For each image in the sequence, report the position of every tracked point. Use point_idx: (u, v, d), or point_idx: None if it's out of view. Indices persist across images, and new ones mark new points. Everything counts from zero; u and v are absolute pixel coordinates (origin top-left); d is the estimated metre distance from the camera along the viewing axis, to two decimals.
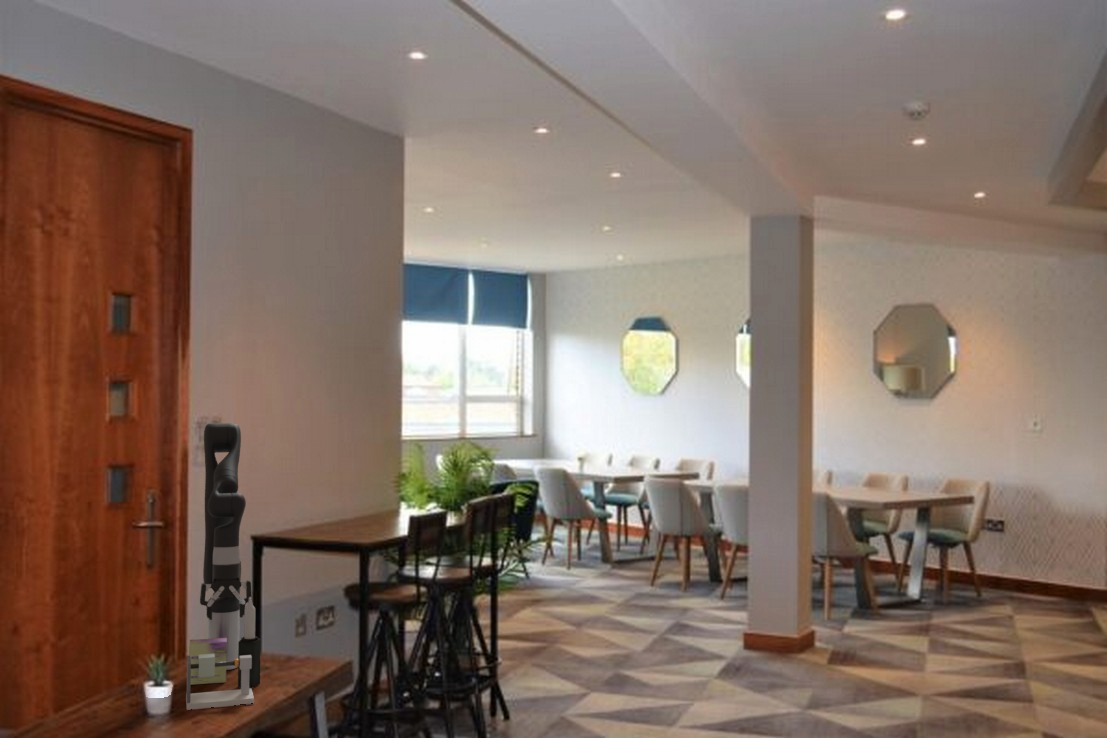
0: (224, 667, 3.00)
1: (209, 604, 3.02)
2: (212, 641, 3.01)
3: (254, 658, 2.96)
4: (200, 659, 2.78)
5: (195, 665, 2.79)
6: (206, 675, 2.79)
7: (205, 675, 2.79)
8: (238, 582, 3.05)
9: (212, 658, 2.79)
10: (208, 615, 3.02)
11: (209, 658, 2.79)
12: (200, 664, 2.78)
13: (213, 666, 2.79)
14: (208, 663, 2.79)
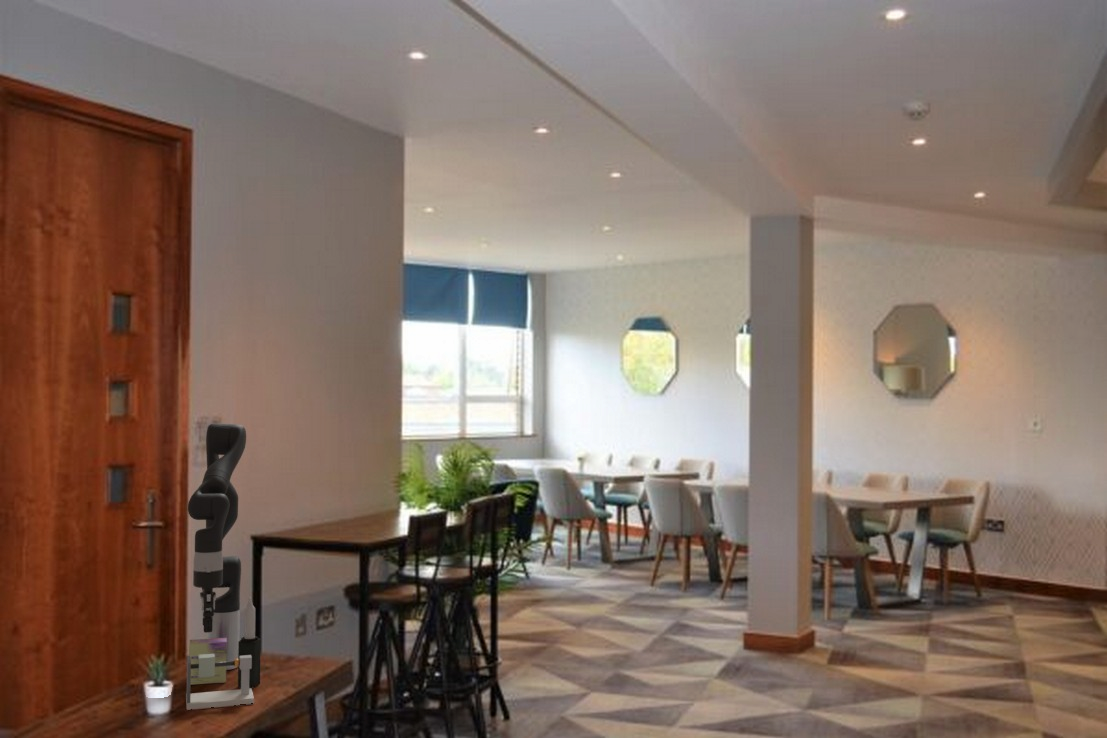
0: (224, 667, 3.00)
1: (213, 615, 2.77)
2: (212, 641, 3.01)
3: (254, 658, 2.96)
4: (200, 659, 2.78)
5: (195, 665, 2.79)
6: (206, 675, 2.79)
7: (205, 675, 2.79)
8: None
9: (212, 658, 2.79)
10: (211, 627, 2.77)
11: (209, 658, 2.79)
12: (200, 664, 2.78)
13: (213, 666, 2.79)
14: (208, 663, 2.79)
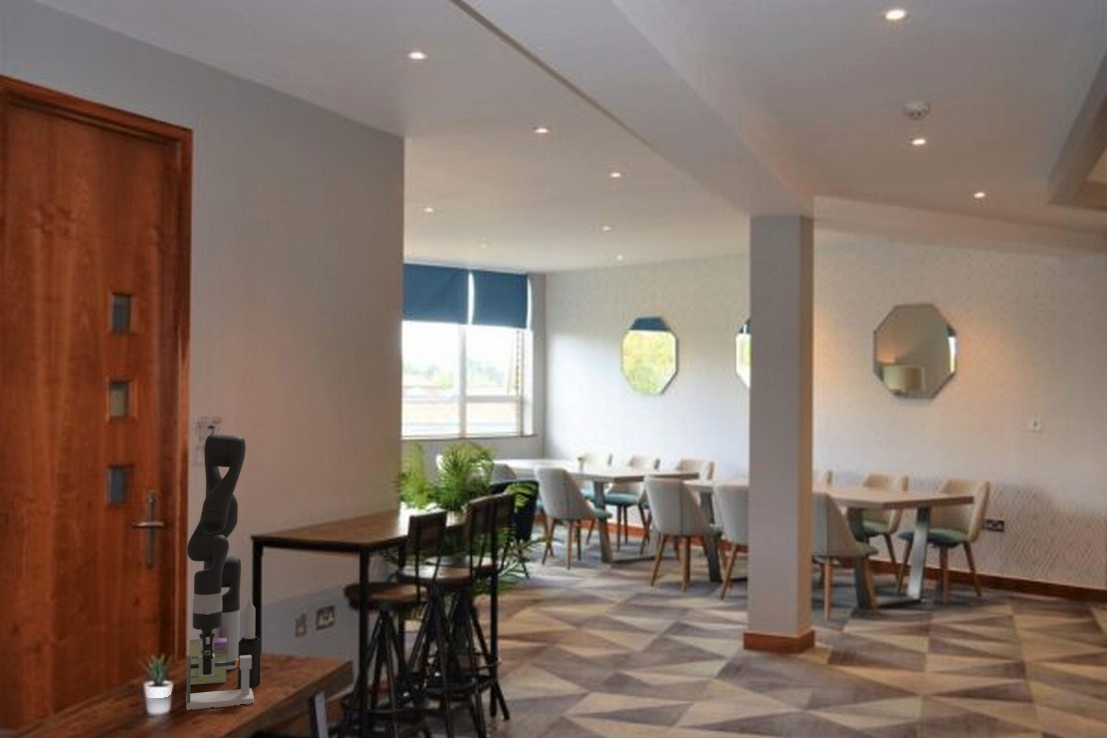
0: (224, 667, 3.00)
1: None
2: None
3: (254, 658, 2.96)
4: (200, 659, 2.78)
5: (195, 665, 2.79)
6: (206, 675, 2.79)
7: (205, 675, 2.79)
8: None
9: None
10: (210, 669, 2.77)
11: None
12: (200, 664, 2.78)
13: (213, 666, 2.79)
14: None
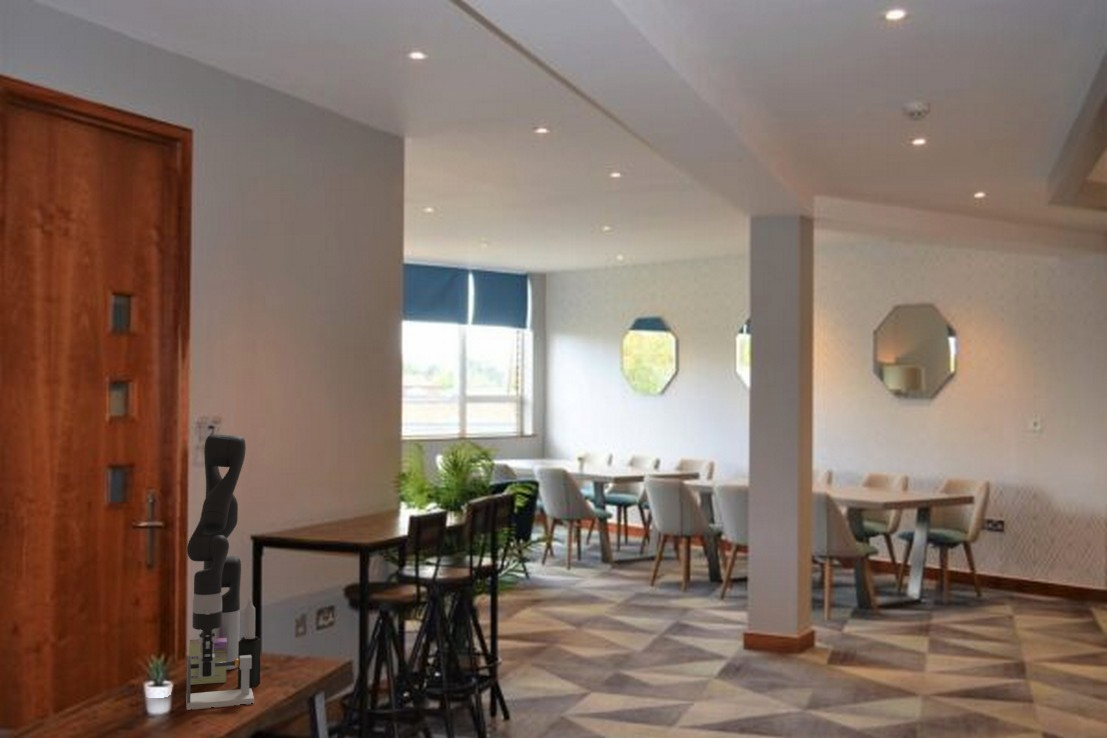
0: (224, 667, 3.00)
1: None
2: None
3: (254, 658, 2.96)
4: (200, 659, 2.78)
5: (195, 665, 2.79)
6: None
7: None
8: None
9: None
10: (209, 671, 2.78)
11: None
12: (200, 664, 2.78)
13: (213, 666, 2.79)
14: None
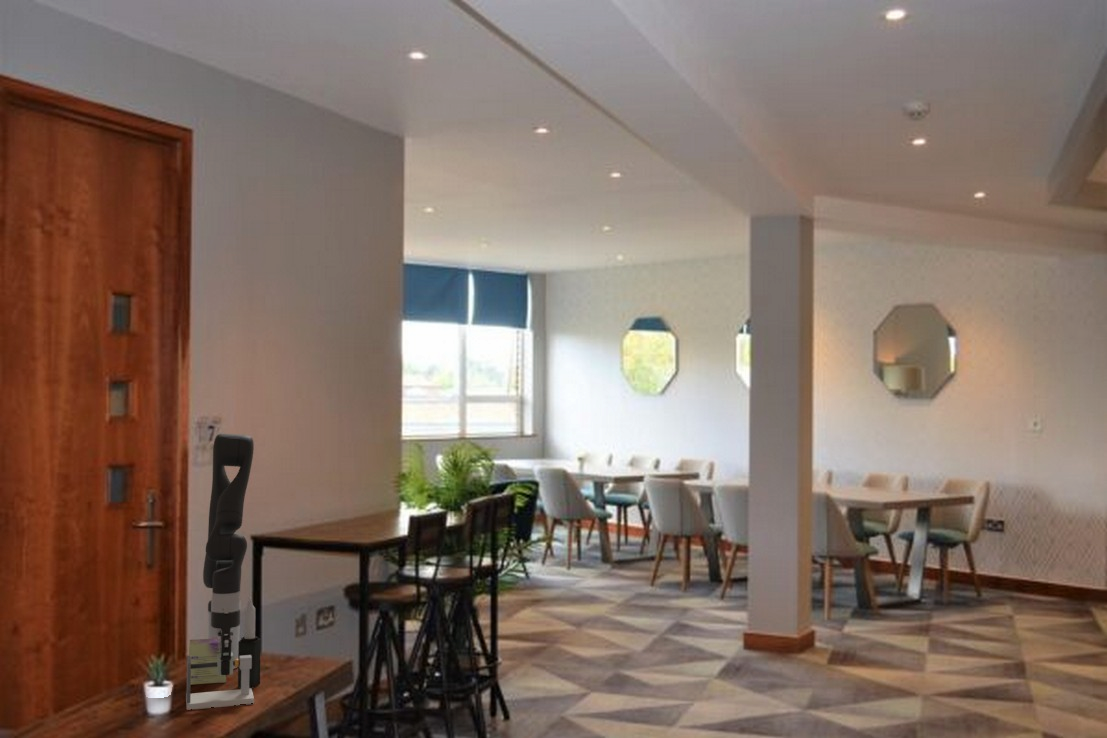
0: None
1: None
2: (212, 641, 3.01)
3: (254, 658, 2.96)
4: (219, 658, 2.80)
5: (195, 665, 2.79)
6: None
7: None
8: None
9: None
10: (228, 670, 2.80)
11: None
12: (218, 662, 2.80)
13: (231, 665, 2.81)
14: None
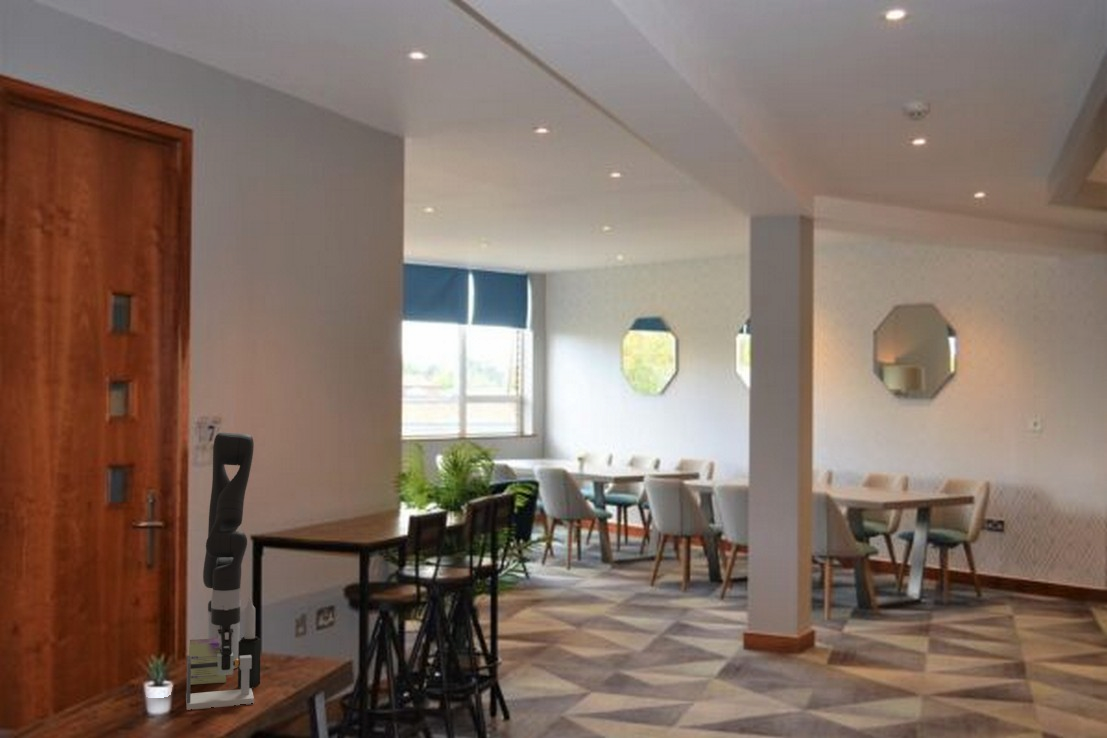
0: None
1: (231, 652, 2.79)
2: (212, 641, 3.01)
3: (254, 658, 2.96)
4: (219, 658, 2.80)
5: (195, 665, 2.79)
6: (225, 673, 2.80)
7: (224, 673, 2.80)
8: None
9: (231, 657, 2.81)
10: (228, 665, 2.78)
11: None
12: (218, 662, 2.80)
13: (232, 665, 2.81)
14: None
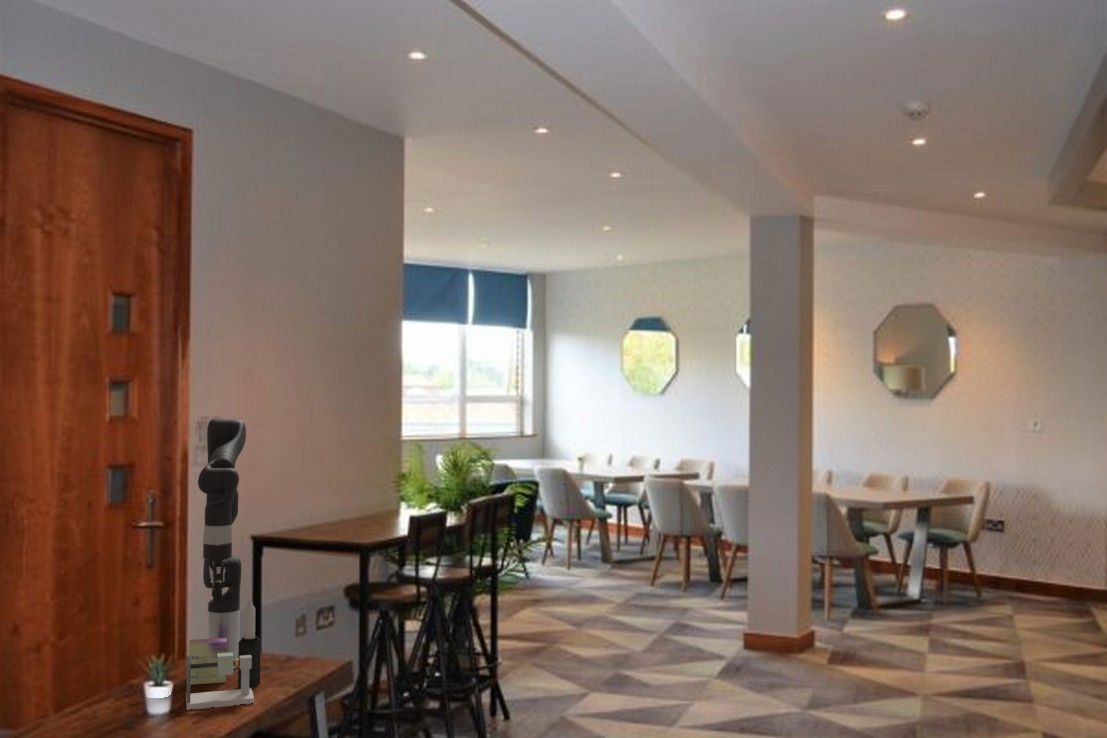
0: None
1: None
2: (212, 641, 3.01)
3: (254, 658, 2.96)
4: (219, 658, 2.80)
5: (195, 665, 2.79)
6: (225, 673, 2.80)
7: (224, 673, 2.80)
8: None
9: (231, 657, 2.81)
10: (220, 599, 2.82)
11: (228, 657, 2.81)
12: (218, 662, 2.80)
13: (232, 665, 2.81)
14: (227, 662, 2.81)
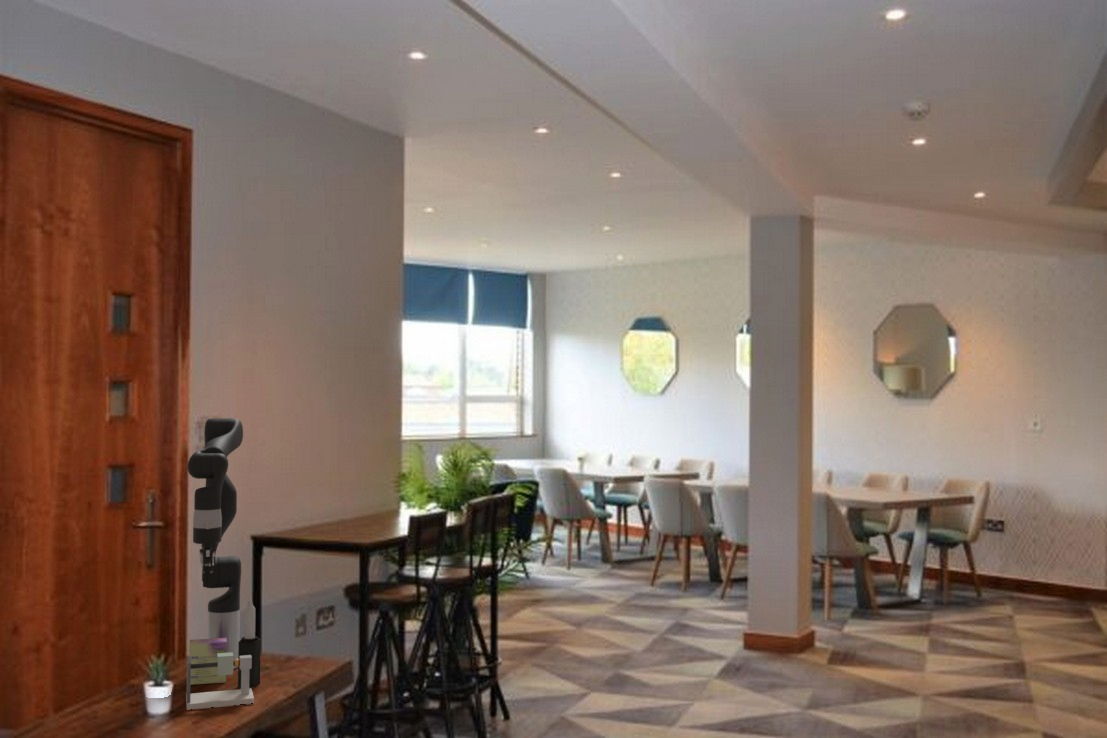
0: None
1: (212, 570, 2.86)
2: (212, 641, 3.01)
3: (254, 658, 2.96)
4: (219, 658, 2.80)
5: (195, 665, 2.79)
6: (225, 673, 2.80)
7: (224, 673, 2.80)
8: None
9: (231, 657, 2.81)
10: (210, 582, 2.86)
11: (228, 657, 2.81)
12: (218, 662, 2.80)
13: (232, 665, 2.81)
14: (227, 662, 2.81)
